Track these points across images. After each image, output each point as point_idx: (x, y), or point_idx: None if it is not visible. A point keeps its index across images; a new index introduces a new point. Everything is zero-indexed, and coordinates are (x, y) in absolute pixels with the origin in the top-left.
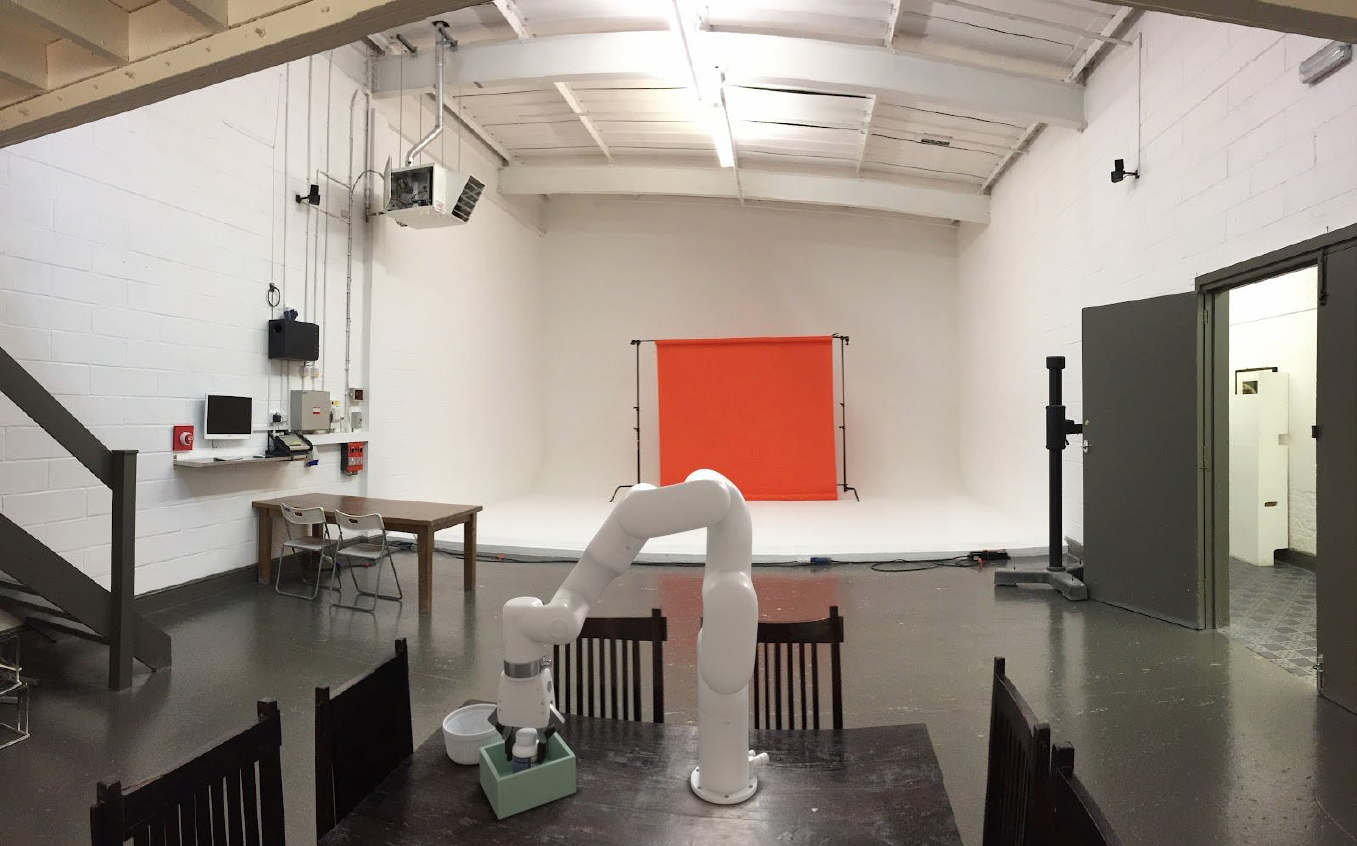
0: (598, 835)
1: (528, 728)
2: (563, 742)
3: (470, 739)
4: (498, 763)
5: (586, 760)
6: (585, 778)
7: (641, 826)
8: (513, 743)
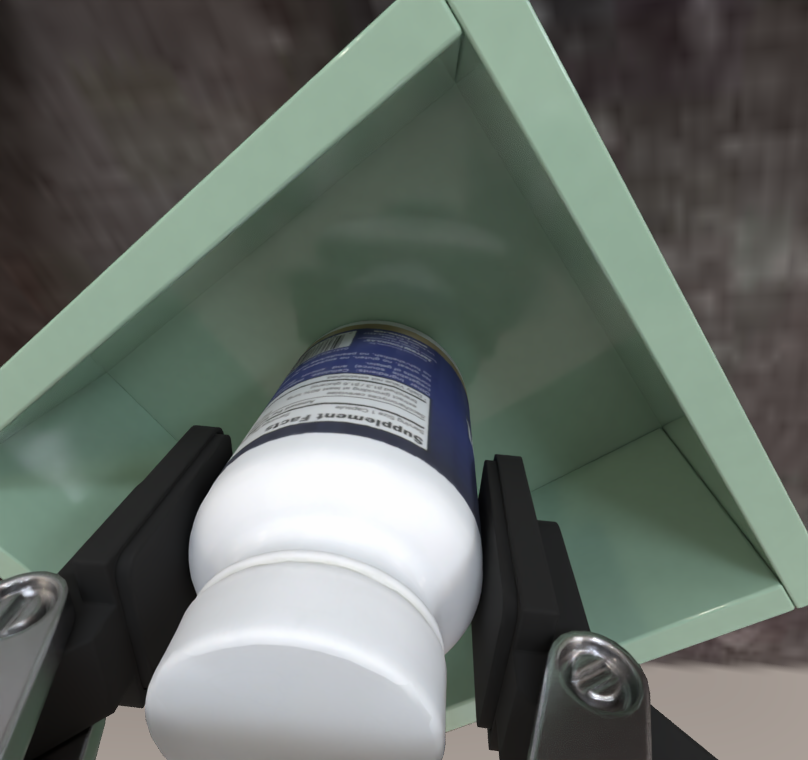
0: (784, 663)
1: (272, 661)
2: (710, 378)
3: None
4: (119, 355)
5: (767, 19)
6: (745, 278)
7: None
8: (178, 574)
